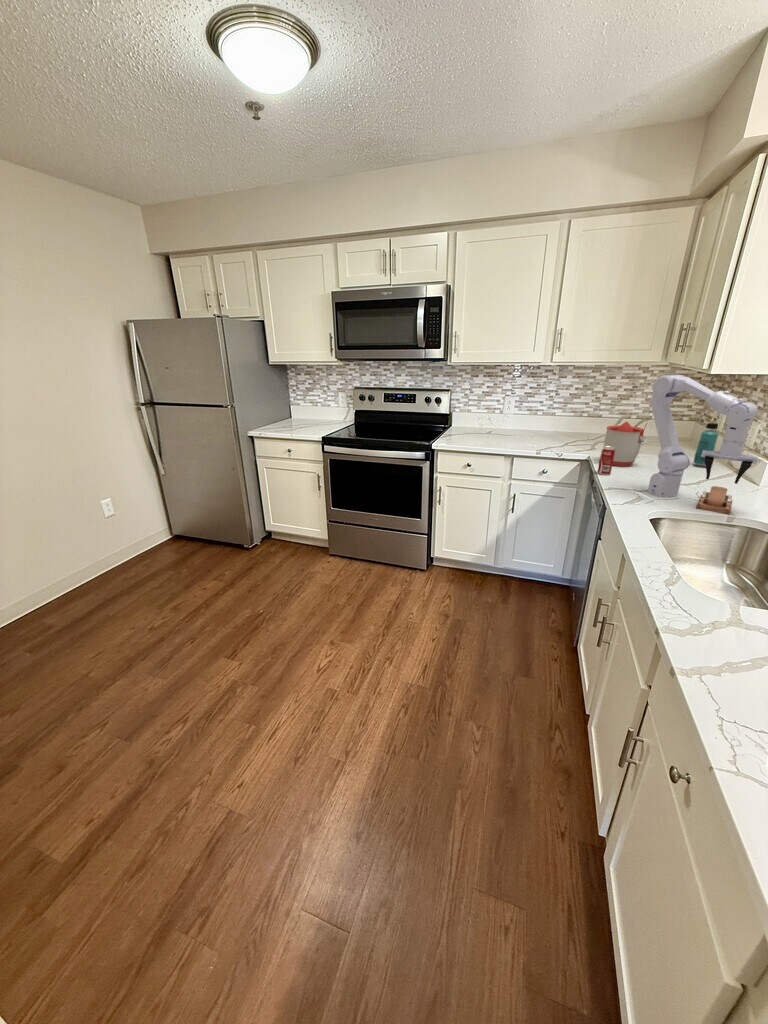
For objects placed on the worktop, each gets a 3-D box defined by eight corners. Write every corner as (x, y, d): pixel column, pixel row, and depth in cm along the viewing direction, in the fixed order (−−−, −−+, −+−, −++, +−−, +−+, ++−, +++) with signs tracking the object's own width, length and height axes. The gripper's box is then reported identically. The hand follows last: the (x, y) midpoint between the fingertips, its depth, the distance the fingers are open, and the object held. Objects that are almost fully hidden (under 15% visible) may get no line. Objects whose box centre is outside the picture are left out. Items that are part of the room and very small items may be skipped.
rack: (729, 517, 139) (731, 510, 138) (694, 510, 145) (696, 504, 144) (731, 502, 152) (733, 495, 151) (700, 496, 158) (702, 490, 157)
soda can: (599, 471, 190) (604, 445, 185) (611, 473, 187) (617, 446, 182) (595, 474, 186) (600, 447, 181) (608, 476, 183) (614, 449, 178)
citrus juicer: (635, 470, 191) (645, 426, 183) (595, 464, 202) (603, 422, 194) (644, 463, 201) (654, 421, 194) (605, 457, 212) (613, 417, 205)
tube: (713, 510, 143) (719, 490, 140) (702, 505, 147) (708, 486, 144) (724, 509, 143) (730, 490, 141) (713, 504, 147) (719, 485, 145)
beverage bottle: (693, 463, 201) (705, 421, 194) (710, 466, 197) (723, 423, 189) (690, 466, 197) (702, 423, 190) (707, 469, 192) (720, 425, 185)
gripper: (705, 439, 138) (694, 479, 143) (762, 446, 130) (748, 487, 135) (707, 436, 143) (696, 474, 148) (762, 442, 135) (749, 482, 140)
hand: (721, 480), depth 142 cm, fingers open, 7 cm apart
